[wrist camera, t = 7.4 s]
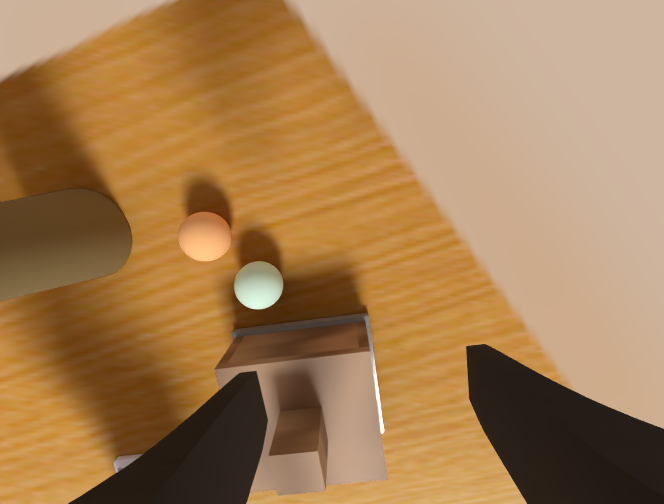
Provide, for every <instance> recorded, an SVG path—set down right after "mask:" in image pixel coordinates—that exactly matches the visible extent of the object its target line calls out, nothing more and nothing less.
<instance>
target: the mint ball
mask: <svg viewBox="0 0 664 504" xmlns="http://www.w3.org/2000/svg"><path fill="white" fill-rule="evenodd" d="M282 290H283V279H282V276H281V274H280V272H279V271H278V269H277V268H276V267H274V266H273V265H272V264H270V263H267V262H263V261H255V262H251V263H249V264H247V265H245V266H244V267H242V268H241V269H240V271H239V272H238V273H237V275H236V278H235V281H234V291H235V294H236V296H237V298H238V300H239V301H240V302H241V303H242V304H243V305H245V306H246V307H249V308H252V309H264V308H267V307H270V306H271V305H273V304H274V303H275V302H276V301H277V300H278V299H279V297H280V296H281V294H282Z"/></svg>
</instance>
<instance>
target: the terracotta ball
mask: <svg viewBox="0 0 664 504" xmlns="http://www.w3.org/2000/svg"><path fill="white" fill-rule="evenodd" d="M231 239H232V234H231V230H230V227H229V225H228V224H227V222H226V221H225V220H224V219H223V218H222V217H220V216H219V215H217V214H214V213H211V212H198V213H195V214H192V215H190V216H189V217H187V218H186V219H185V220H184V221H183V223H182V224H181V226H180V228H179V232H178V240H179V244H180V246H181V248H182V250H183V251H184V252H185V253H186V254H187V255H188V256H189V257H191V258H193V259H195V260H199V261H212V260H215V259H218V258H220V257H221V256H222V255H224V254H225V253H226V251H227V250H228V248H229V247H230V244H231Z"/></svg>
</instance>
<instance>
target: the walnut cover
mask: <svg viewBox="0 0 664 504" xmlns="http://www.w3.org/2000/svg"><path fill="white" fill-rule="evenodd" d="M214 370H215V374H216V377H217V381H218V385H219V388H220V389H221V388H222V387H223V386H225V385H226V384H227V383H228V382H229V381H230V380H231V379H232V378H234V377H235V376H236V375H237V374H239V373H241V372H249V371H257V375H258V379H259V384H260V388H261V392H262V396H263V401H264V405H265V409H266V413H267V418H268V424H267V429H266V435H265V441H264V446H263V451H262V454H261V458H260V461H259V464H258V467H257V471H256V474H255V477H254V480H253V484H252V487H251V490H250V492H257V491H268V490H277V494H278V495H289V494H301V493H312V492H323V491H326V485H335V484H346V483H357V482H369V481H380V480H388V477H387V470H386V463H385V456H384V448H383V441H382V434H381V426H380V419H379V412H378V404H377V397H376V390H375V382H374V375H373V368H372V360H371V353H370V347H369V341H368V334H367V328H366V322H365V321H362V322H354V323H346V324H338V325H330V326H322V327H313V328H305V329H297V330H289V331H281V332H273V333H265V334H257V335H249V336H241V337H236V338H235V340H234V341H233V342H232V344H231V345H230V347H229V348H228V350H227V351H226V353H225V354H224V356H223V357H222V359H221V360H220V362H219V363H218V365H217V366H216V368H215V369H214Z"/></svg>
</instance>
